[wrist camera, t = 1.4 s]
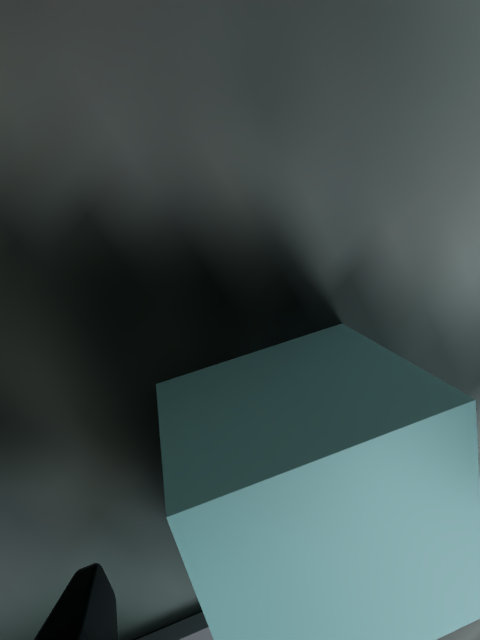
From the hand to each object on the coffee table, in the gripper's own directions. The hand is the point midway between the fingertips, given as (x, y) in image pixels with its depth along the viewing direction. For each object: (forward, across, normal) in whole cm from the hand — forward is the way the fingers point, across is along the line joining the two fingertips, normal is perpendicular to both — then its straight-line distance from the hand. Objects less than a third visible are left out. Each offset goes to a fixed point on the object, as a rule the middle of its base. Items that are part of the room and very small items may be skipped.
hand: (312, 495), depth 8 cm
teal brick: (+3, 0, 0) cm, 3 cm away
